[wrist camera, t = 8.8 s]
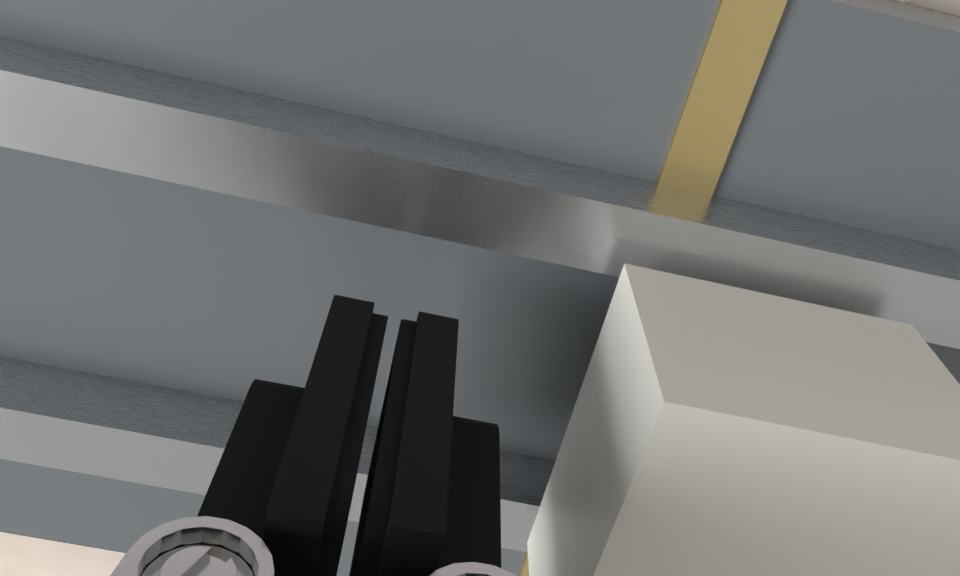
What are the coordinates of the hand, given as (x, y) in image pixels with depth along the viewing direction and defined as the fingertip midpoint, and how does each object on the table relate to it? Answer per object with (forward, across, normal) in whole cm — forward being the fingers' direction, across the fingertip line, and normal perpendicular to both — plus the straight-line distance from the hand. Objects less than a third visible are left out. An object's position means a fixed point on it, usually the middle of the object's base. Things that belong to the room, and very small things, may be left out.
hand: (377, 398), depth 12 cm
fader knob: (+2, -5, 0) cm, 5 cm away
